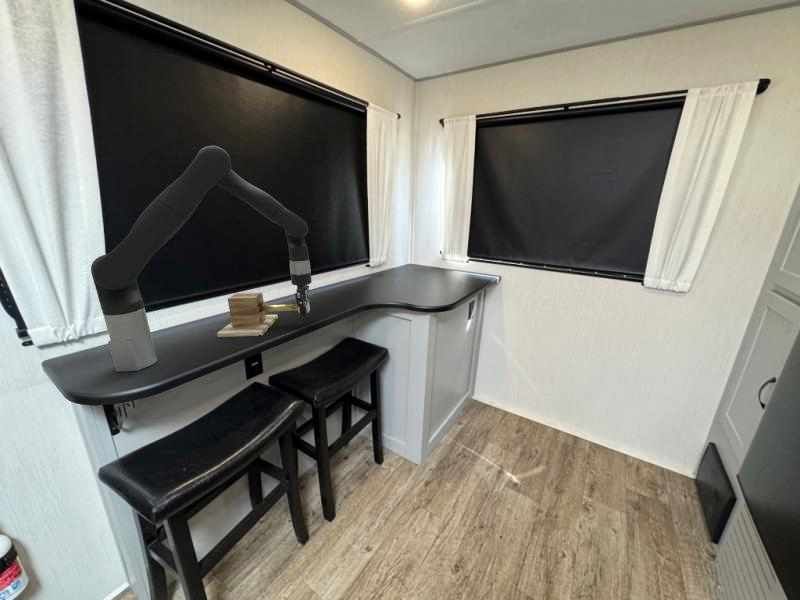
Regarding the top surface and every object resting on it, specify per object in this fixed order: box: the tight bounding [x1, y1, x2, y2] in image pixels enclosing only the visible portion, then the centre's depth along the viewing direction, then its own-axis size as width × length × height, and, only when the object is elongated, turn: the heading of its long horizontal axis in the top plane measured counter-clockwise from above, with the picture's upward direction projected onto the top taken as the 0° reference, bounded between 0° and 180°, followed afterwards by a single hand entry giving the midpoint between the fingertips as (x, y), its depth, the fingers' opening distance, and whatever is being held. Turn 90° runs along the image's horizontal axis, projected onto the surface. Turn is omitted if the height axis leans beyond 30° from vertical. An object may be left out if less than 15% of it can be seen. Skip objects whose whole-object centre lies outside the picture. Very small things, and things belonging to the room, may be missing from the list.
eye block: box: [216, 292, 279, 338], centre depth 125 cm, size 20×16×13 cm
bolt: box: [258, 300, 311, 314], centre depth 126 cm, size 4×23×4 cm, turn 94°
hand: (304, 313), depth 127 cm, fingers open, 4 cm apart
